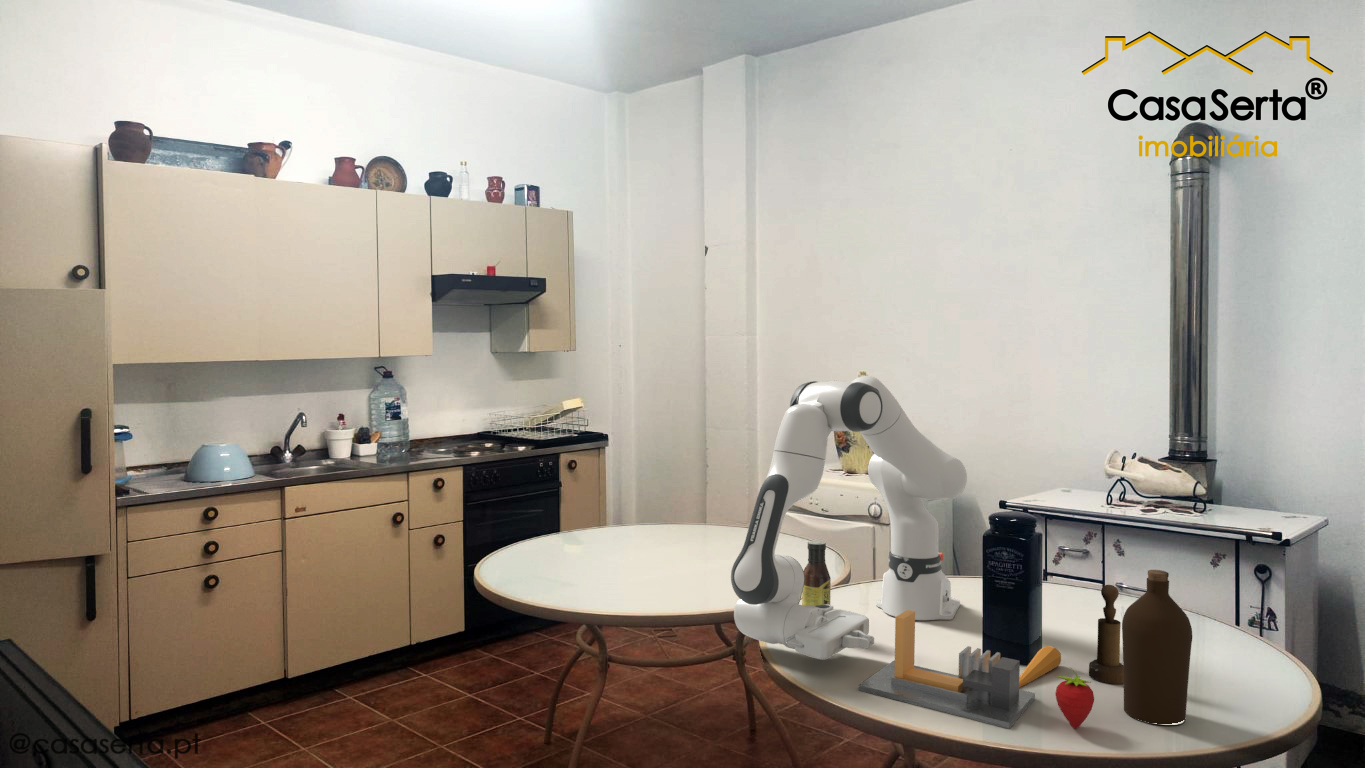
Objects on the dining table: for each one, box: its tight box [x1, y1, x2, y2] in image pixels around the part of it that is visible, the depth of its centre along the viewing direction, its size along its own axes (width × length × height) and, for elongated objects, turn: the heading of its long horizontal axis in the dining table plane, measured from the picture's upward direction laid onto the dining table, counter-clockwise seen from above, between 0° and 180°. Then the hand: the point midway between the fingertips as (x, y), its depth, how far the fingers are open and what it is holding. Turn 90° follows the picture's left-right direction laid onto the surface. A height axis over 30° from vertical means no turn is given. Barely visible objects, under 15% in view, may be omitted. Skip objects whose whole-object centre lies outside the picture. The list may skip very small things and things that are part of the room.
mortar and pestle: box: [1088, 584, 1124, 685], centre depth 167 cm, size 7×6×18 cm
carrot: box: [1019, 645, 1062, 688], centre depth 168 cm, size 20×4×4 cm, turn 136°
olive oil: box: [1121, 569, 1193, 724], centre depth 150 cm, size 11×11×25 cm
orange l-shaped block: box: [894, 610, 965, 693], centre depth 161 cm, size 6×12×12 cm, turn 54°
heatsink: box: [858, 645, 1036, 729], centre depth 159 cm, size 16×27×8 cm, turn 54°
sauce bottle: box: [801, 540, 832, 606], centre depth 194 cm, size 7×6×20 cm
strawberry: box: [1054, 666, 1095, 729], centre depth 145 cm, size 6×8×10 cm
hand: (871, 642), depth 168 cm, fingers closed
